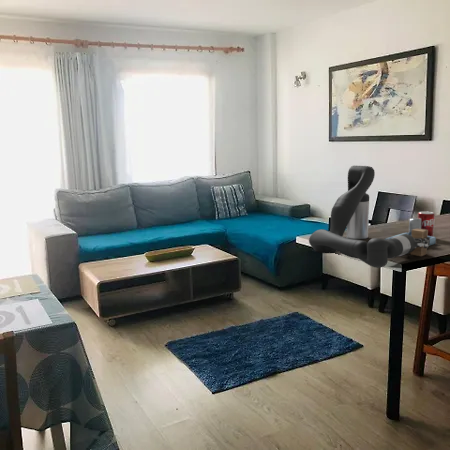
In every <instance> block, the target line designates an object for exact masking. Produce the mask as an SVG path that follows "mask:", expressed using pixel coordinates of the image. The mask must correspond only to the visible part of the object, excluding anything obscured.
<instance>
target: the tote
mask: <svg viewBox="0 0 450 450" xmlns="http://www.w3.org/2000/svg"><path fill="white" fill-rule="evenodd" d="M403 234H408V235H409V232H402V233H400V234H399V233H398V234H396V235H392V236H389V237H385V238H384V240H388V239H391V238H393V237H396V236H399V235H403ZM428 237H430V246H433V245H436V240H437V239H436V238H437V237H436V236H433V237H432V236H428Z"/></svg>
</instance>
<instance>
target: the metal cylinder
mask: <svg viewBox="0 0 450 450" xmlns="http://www.w3.org/2000/svg"><path fill="white" fill-rule="evenodd" d="M417 228H418V229H421V218H417V217H411V218H410V217H409V218H408V233H409V235H411V234H412V230H413V229H417Z"/></svg>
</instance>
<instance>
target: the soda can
mask: <svg viewBox="0 0 450 450" xmlns="http://www.w3.org/2000/svg"><path fill="white" fill-rule="evenodd" d="M435 216H436V214H435V212H433V211H425V210H423V211H418V212H417V217H416V218H421V229H425V230H428V236H432V237H434V232H435V219H436V218H435Z"/></svg>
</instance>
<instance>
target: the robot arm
mask: <svg viewBox="0 0 450 450" xmlns="http://www.w3.org/2000/svg"><path fill="white" fill-rule="evenodd" d="M374 179H375V169H374V168H373V167H372V166H369V165H368V166H367V165H352V166H350V167H349V169H348V171H347V191H345V192H344V193H343V194H341V195H340V196H339V197H338V198H337V199H336V201H335V203H334V204H333V206H332V208H331V211H330V229H329V230H327V229H323V228H322V229H317V230H315V231H313V233H312V234H311V235H310V236H309V238H308V243H309V245H310V247H311V248H312V249H313V251H314V252H315V253H319V254H335V253H336V252H338V253H341V254H342V255H344V256H346V257H349V258H353V259H358V260H360V261H362V262H363V263H365V264H366V265H367V266H370V267H372V268H378V269H381V268H384V267H385V266H386V265H387V264H388V263H389V262H388V261H389V259H395V258H397V257H402V256H404V255H407V254H410V253H411V252H412V251H413V250H414V249H415V248H416V247H421V246H423V247H424V248H427V249H428V248H429V246H431V245H430V237H426V238H420V237H419V238H413V237H412V236H411V235H408V234H403V235H399V234H398V235H399V236H396V237H393V238H391V239H388V240H385V238H379V237H378V238H377V237H374V238H373V237H372V238H371V239H369V240H368V241H366V240H365V239H368V237H369V219H370V218H369V215H370V194H368V193H367V192H368V190H369V189H370V187H371V186H372V184H373V181H374ZM345 231H346V236H344V234H345ZM422 241H423V243H422Z"/></svg>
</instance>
